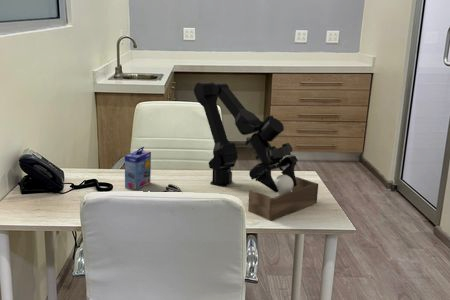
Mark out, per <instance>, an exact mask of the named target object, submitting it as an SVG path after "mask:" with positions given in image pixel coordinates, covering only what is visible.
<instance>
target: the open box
mask: <svg viewBox="0 0 450 300" xmlns="http://www.w3.org/2000/svg"><path fill="white" fill-rule="evenodd" d="M295 178H296V183H297V185H296V186H295V187H294V186H293V189H292V190H291V192H288V193H285V194H283V195H280V196H278V195H277V196H274V197H271V196H268V195H266V194H263V193H260V192H258V191H256V190H252V189H250V190H249V191H248V207H247V209H248V210H247V212H249V213H252V214H254V215H257V216H259V217H261V218H263V219H266V220H268V221H271V222H272V221H275V220H277V219H280V218H283V217H286V216H288V215H291V214H293V213H296V212H298V211H301V210H304V209H306V208H308V207H311V206H315V205H316V204H317V203H318V192H319V183H316V182H314V181H311V180H308V179H304V178H302V177H299V176H296V175H295Z"/></svg>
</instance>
